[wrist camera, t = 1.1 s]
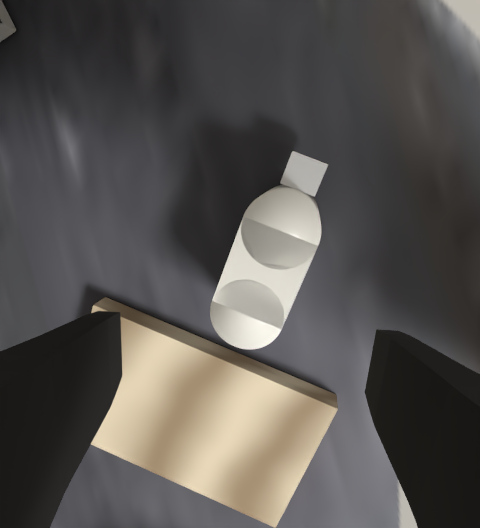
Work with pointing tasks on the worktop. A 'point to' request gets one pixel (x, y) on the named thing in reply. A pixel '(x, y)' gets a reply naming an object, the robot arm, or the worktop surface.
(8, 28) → the vintage mobile phone
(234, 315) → the capped bottle
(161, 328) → the birch board
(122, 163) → the worktop surface
